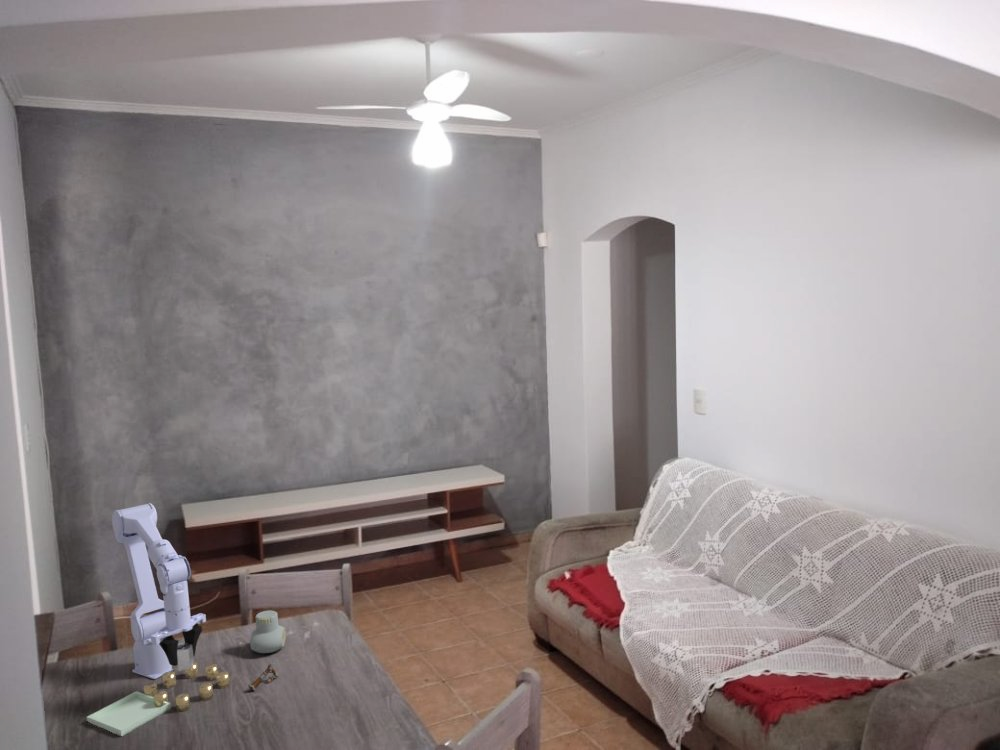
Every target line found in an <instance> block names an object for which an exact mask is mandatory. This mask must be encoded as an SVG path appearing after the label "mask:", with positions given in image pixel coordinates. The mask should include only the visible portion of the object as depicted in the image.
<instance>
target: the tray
mask: <svg viewBox="0 0 1000 750" xmlns="http://www.w3.org/2000/svg"><path fill="white" fill-rule="evenodd" d="M171 709H172V704H171V702H169V701H168V702H166V701H164V702H163V706H162V707H155V702H154V697H152V696H149V695H146V694H144V692H140V691H138V690H136V691H134V692H132V693H130V694H128V695H126V696H124V697H122V698H121V699H118V700H116V701H115V702H113V703H111V704H109V705H107V706H105V707H103V708H101V709H99V710H98V711H96V712H93V713H92V714H89V715H88V716H86V722H87V721H88V722H90V723H92V724H94V725H97V726H99V727H101V728H104V729H106V730H108V731H107V732H109V731H110V732H109V733H111V732H112V734H114V735H116V734H117V736H119V737H121V736H122V737H123V736H125V735H128V734H129V733H132V732H133V731H134V730H137V729H138V728H140V727H141V726H143V725H145V724H146V723H149V722H151V721H152V720H155V719H156V718H158V717H159V716H161V715H163V714H165V713H166V712H168V711H170V710H171ZM94 725H93V726H94ZM99 727H98V728H99ZM101 728H100V729H101ZM104 729H103V730H104ZM106 730H105V731H106Z"/></svg>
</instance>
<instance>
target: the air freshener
mask: <svg viewBox="0 0 1000 750" xmlns="http://www.w3.org/2000/svg"><path fill="white" fill-rule="evenodd" d="M255 627H256V628H255V629H253V631H252V633H251V634H250V635H251V636H250V643H249V644H250V649H251V650H252V651H253V652H255V653H258V654H270V653H274V652H277V651H280V649H283V648H284V647H285V645H286V637H287V632H286V631H287V630H286V628H285V627H284V626H282V625H280V624H279V617H278V612H277V611H275V610H270V609H269V610H264V611H261V612H259V613H257V614H256V615H255Z"/></svg>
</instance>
